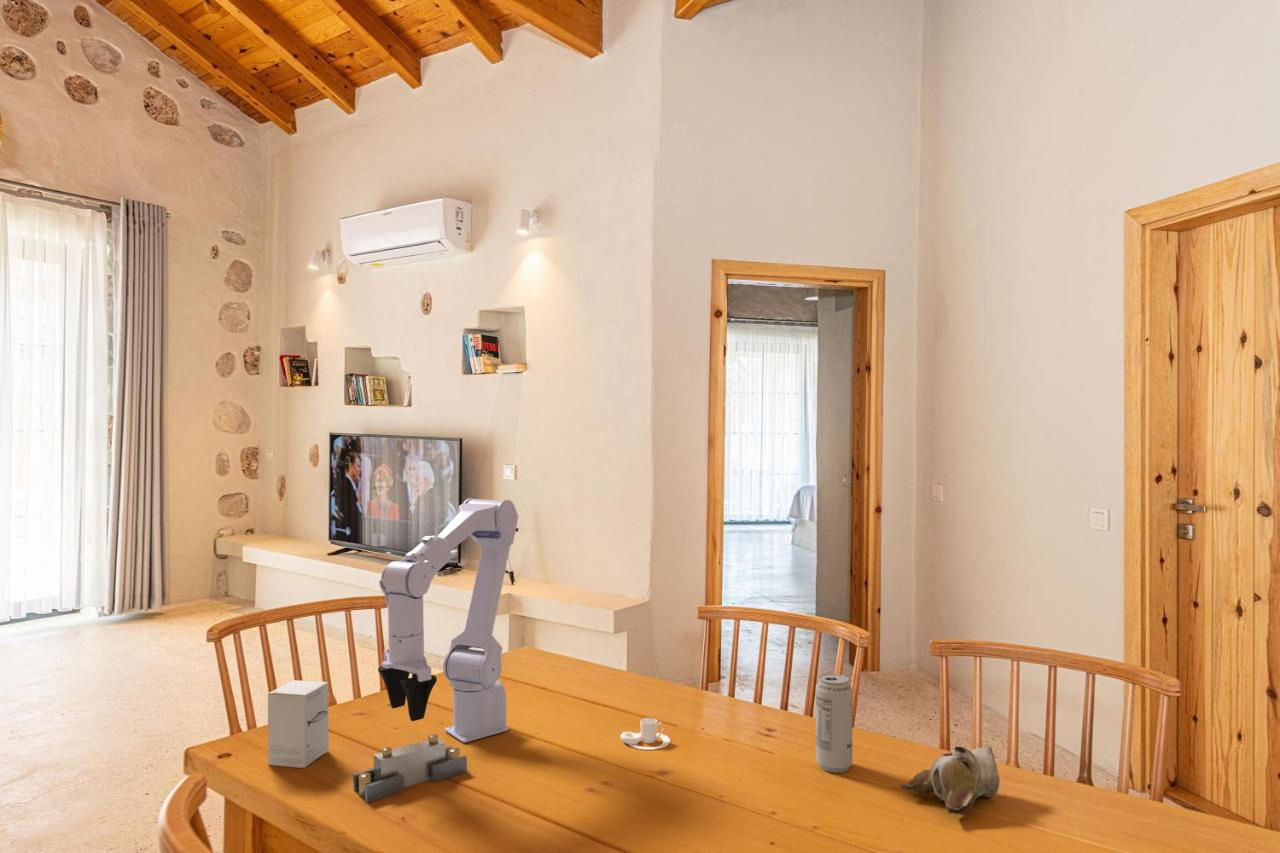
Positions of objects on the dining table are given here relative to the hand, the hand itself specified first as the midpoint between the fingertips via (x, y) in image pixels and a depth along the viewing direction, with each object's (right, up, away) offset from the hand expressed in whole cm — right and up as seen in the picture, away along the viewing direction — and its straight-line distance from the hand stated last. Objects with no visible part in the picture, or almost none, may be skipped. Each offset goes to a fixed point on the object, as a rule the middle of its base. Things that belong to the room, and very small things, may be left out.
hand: (407, 712), depth 138 cm
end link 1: (-3, -10, -7) cm, 12 cm away
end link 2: (+6, -10, 0) cm, 11 cm away
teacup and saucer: (+39, -10, +15) cm, 43 cm away
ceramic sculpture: (+88, -10, -12) cm, 90 cm away
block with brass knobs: (+2, -10, -4) cm, 11 cm away
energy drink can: (+72, -10, +1) cm, 73 cm away
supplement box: (-21, -10, +5) cm, 23 cm away
